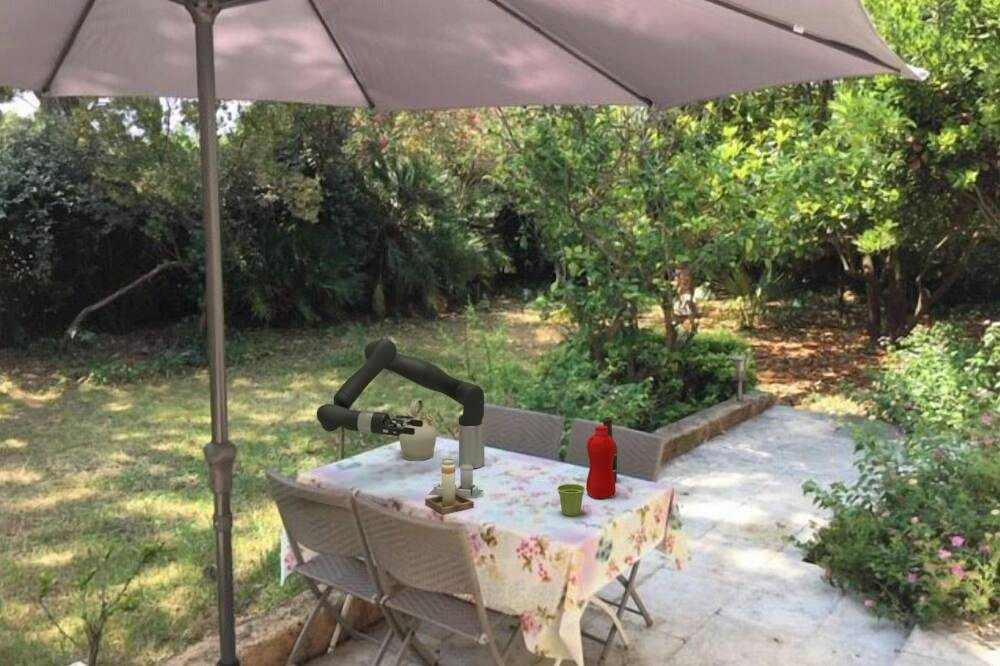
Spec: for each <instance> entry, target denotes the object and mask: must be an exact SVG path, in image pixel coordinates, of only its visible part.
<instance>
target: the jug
mask: <svg viewBox="0 0 1000 666" xmlns="http://www.w3.org/2000/svg"><path fill="white" fill-rule="evenodd" d="M424 403H425V402H424V400H423V398H422V397H415V398H413V400H412V402H411V403H410V408H409V409H410V411H409V412H410V414H411V416H412V417H413V419H414V420H422V421H423V426H422V427H416V426H407V427H409V428H414V429H415V434H414V435H409V434H403V435H400V436H398V439H399V445H400V449H401V453H402V458H403V459H404V458H405V459H404V460H406V459H407V460H408V461H413V460H419V461H426V460H425V459H427V460H429V459H431V458H433V456H434V455H433V454H434V451H435V447H436V443H437V441H436V440H437V429H436V426H435V425H434V423H433V421H434V420H435V417H434V416H433V415H432V414H430V413H426V414H425V417H424V416H422V414H423V412H424V407H425V404H424ZM417 405H418V408H417ZM410 414H408V413H407V412H403V415H402V416H410ZM406 419H407V418H406ZM407 422H409V421H407ZM428 458H429V459H428Z"/></svg>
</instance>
